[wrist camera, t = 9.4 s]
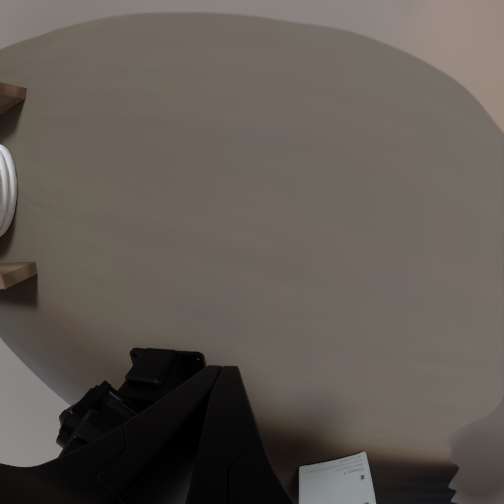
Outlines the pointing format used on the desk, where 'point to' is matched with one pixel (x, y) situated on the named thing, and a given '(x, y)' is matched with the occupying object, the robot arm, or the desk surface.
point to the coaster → (7, 189)
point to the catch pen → (10, 274)
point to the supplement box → (337, 482)
